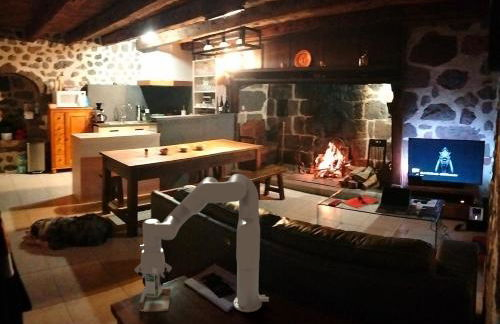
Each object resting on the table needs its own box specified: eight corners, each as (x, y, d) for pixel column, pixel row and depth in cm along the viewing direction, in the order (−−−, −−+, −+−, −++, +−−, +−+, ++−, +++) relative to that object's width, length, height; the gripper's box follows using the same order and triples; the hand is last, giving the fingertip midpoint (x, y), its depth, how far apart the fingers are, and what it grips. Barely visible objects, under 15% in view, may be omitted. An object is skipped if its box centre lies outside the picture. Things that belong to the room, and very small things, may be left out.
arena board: (170, 295, 187) (170, 287, 186) (168, 310, 176) (167, 301, 175) (144, 296, 186) (143, 288, 185) (139, 311, 175) (139, 302, 174)
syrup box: (145, 296, 178) (144, 266, 175) (151, 289, 184) (149, 260, 181) (157, 298, 177) (156, 267, 174) (162, 291, 183) (161, 261, 180)
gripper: (130, 251, 171) (132, 289, 175) (171, 250, 173) (172, 288, 177) (133, 244, 178) (135, 281, 182) (173, 243, 180) (174, 279, 184)
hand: (153, 284), depth 179 cm, fingers closed on syrup box, 6 cm apart
